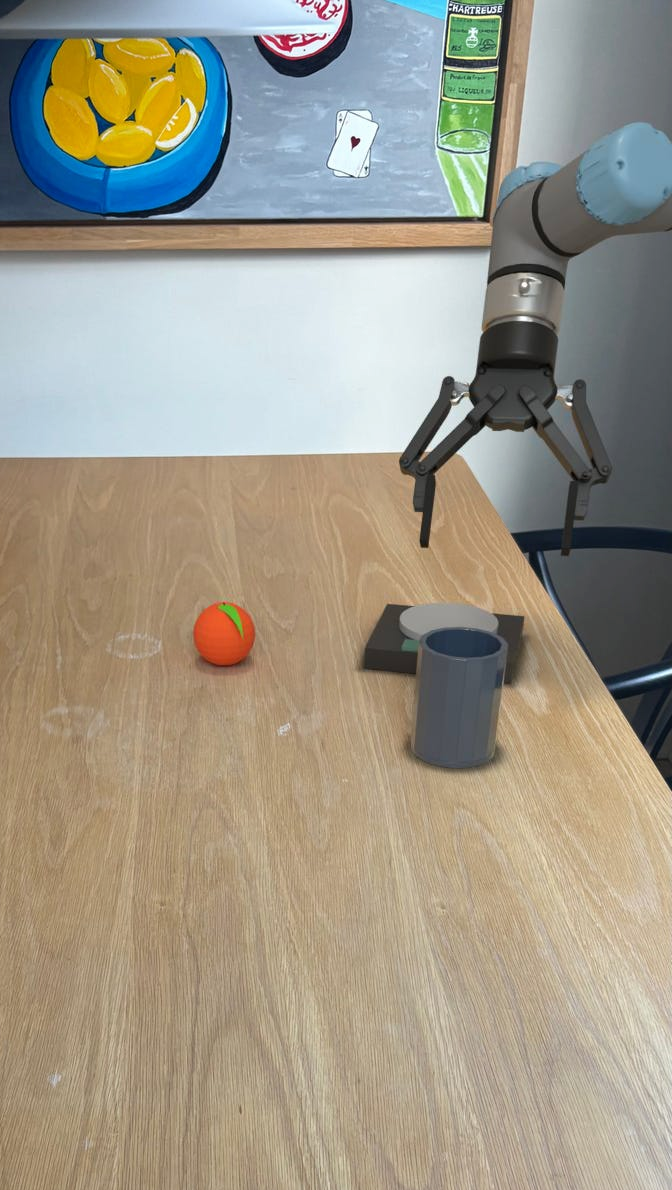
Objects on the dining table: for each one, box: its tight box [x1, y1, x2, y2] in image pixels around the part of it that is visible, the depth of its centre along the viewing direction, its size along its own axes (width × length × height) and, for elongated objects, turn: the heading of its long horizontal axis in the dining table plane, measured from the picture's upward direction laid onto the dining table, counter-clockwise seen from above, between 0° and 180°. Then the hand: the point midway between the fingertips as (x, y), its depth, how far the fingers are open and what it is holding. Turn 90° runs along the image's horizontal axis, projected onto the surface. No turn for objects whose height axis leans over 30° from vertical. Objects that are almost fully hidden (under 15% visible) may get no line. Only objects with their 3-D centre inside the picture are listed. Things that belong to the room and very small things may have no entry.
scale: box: [363, 602, 525, 684], centre depth 139 cm, size 16×14×4 cm
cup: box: [410, 627, 508, 769], centre depth 116 cm, size 8×8×11 cm
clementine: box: [192, 601, 256, 666], centre depth 136 cm, size 8×7×7 cm
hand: (493, 548), depth 120 cm, fingers open, 13 cm apart
